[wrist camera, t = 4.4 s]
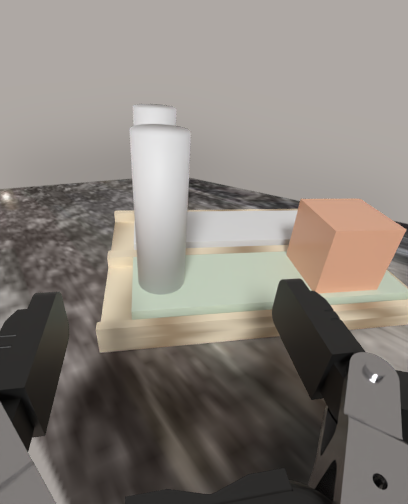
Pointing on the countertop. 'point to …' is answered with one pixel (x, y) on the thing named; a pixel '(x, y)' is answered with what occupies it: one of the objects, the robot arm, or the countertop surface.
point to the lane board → (208, 325)
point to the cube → (342, 244)
